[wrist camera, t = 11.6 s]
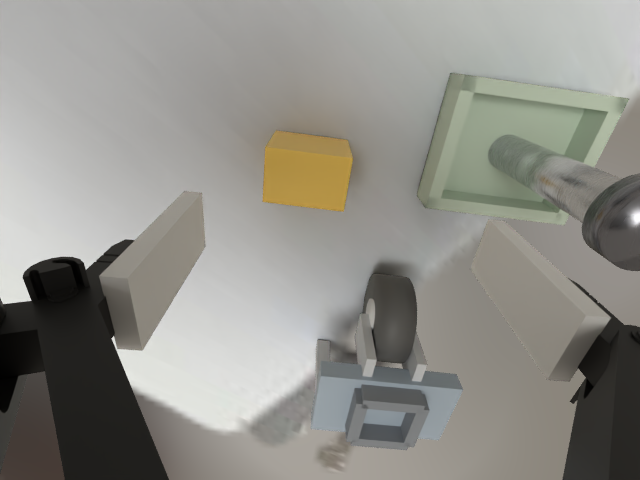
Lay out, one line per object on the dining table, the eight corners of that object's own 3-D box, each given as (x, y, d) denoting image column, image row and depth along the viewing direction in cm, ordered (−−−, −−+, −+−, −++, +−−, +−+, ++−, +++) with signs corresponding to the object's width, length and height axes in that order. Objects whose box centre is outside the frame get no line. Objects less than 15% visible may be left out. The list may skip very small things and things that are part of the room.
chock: (276, 130, 28) (265, 146, 23) (347, 139, 29) (353, 158, 23) (273, 176, 30) (262, 201, 25) (340, 185, 31) (343, 211, 25)
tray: (450, 73, 26) (464, 74, 24) (599, 94, 27) (629, 98, 24) (416, 195, 31) (425, 208, 28) (544, 211, 32) (564, 225, 29)
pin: (489, 120, 27) (638, 177, 14) (542, 128, 27) (735, 190, 15) (470, 174, 29) (587, 265, 16) (520, 180, 30) (672, 275, 17)
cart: (313, 348, 40) (310, 445, 30) (329, 252, 34) (331, 334, 24) (414, 358, 40) (443, 456, 31) (447, 266, 34) (497, 351, 24)
